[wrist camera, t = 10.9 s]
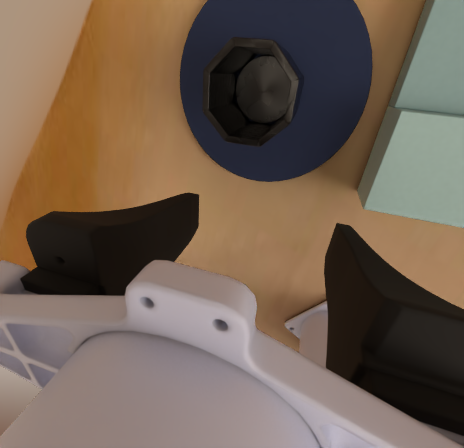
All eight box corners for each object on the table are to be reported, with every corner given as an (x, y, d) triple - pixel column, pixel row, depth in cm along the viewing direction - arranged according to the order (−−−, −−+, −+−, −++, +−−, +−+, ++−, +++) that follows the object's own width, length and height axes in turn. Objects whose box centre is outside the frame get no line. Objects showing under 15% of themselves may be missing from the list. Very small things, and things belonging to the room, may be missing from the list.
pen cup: (309, 51, 17) (306, 41, 12) (293, 132, 20) (285, 151, 15) (235, 45, 18) (203, 34, 13) (229, 123, 21) (201, 138, 16)
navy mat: (419, 78, 17) (422, 78, 16) (269, 209, 24) (268, 211, 24) (263, -102, 15) (262, -108, 14) (154, 101, 22) (150, 101, 22)
